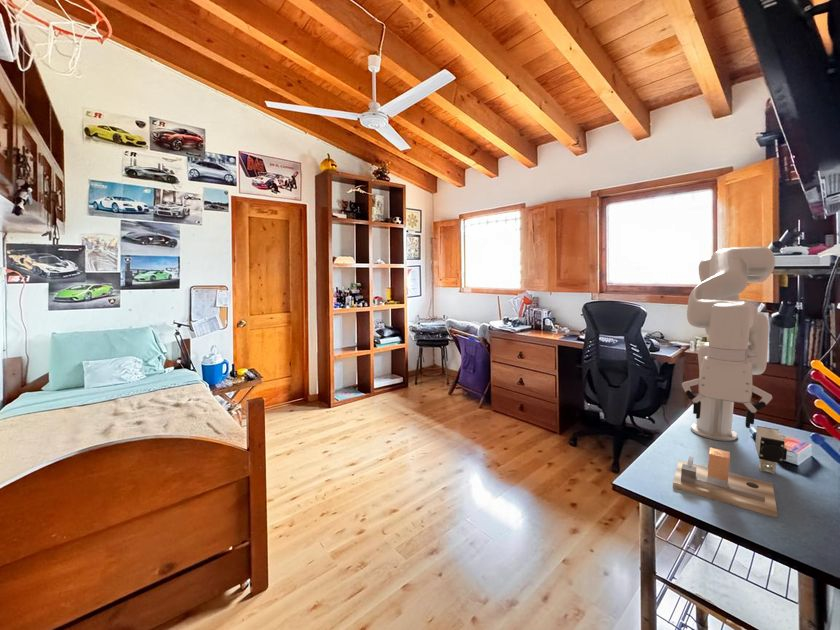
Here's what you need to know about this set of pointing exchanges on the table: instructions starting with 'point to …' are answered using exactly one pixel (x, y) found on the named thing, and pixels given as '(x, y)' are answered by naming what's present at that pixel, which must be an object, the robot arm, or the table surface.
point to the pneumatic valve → (770, 448)
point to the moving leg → (718, 467)
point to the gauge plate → (737, 492)
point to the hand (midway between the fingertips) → (721, 421)
